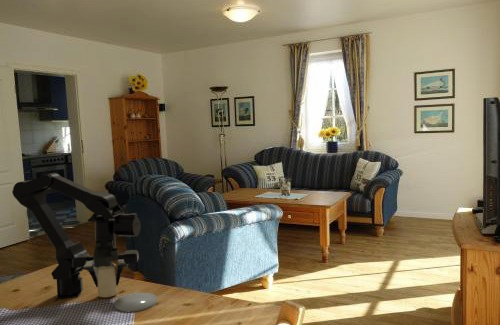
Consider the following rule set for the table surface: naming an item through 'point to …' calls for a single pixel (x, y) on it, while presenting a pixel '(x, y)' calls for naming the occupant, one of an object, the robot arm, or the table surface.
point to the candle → (107, 280)
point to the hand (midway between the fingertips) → (107, 286)
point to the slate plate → (135, 302)
